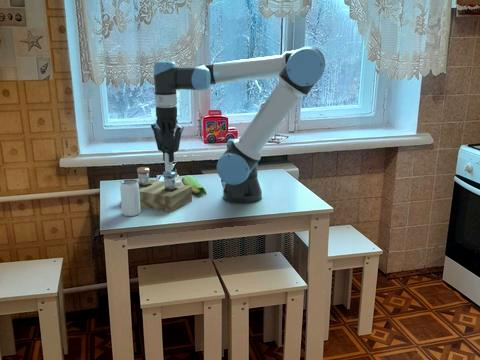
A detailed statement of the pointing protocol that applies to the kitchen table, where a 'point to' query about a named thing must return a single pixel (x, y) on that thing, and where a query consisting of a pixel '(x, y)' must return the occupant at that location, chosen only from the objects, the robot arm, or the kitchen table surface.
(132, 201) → the can
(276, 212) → the kitchen table surface
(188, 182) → the edible corn
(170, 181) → the salt shaker
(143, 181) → the copper lidded jar
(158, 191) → the oak block
